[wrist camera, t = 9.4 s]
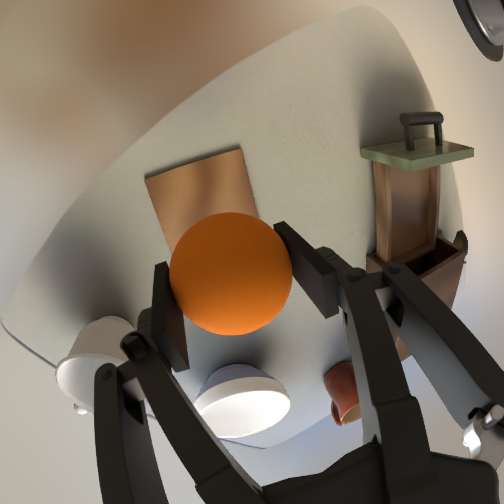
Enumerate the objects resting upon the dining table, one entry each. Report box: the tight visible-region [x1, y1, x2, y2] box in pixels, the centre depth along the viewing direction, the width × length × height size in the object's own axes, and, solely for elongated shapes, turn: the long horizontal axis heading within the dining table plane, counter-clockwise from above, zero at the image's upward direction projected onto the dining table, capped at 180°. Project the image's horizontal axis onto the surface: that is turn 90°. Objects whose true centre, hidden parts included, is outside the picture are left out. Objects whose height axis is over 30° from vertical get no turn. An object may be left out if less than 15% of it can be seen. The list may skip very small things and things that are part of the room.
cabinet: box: [366, 234, 466, 361], centre depth 38 cm, size 18×14×9 cm
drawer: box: [360, 112, 474, 265], centre depth 29 cm, size 22×14×9 cm, turn 13°
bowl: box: [194, 364, 290, 438], centre depth 37 cm, size 14×14×8 cm
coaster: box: [144, 148, 258, 254], centre depth 27 cm, size 10×10×1 cm
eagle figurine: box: [437, 230, 468, 264], centre depth 39 cm, size 8×7×9 cm
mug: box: [323, 362, 361, 426], centre depth 44 cm, size 12×9×10 cm
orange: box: [169, 212, 293, 335], centre depth 16 cm, size 7×7×7 cm
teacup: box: [55, 316, 152, 414], centre depth 27 cm, size 12×15×10 cm
